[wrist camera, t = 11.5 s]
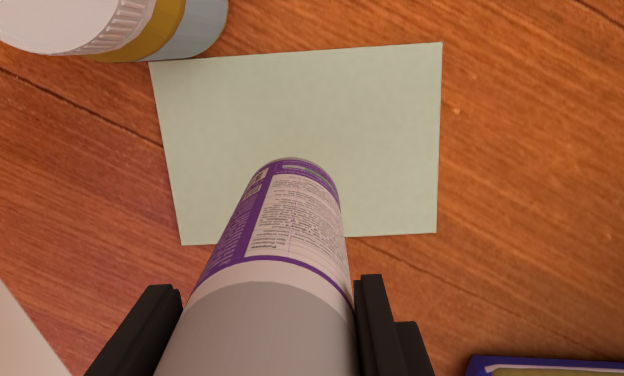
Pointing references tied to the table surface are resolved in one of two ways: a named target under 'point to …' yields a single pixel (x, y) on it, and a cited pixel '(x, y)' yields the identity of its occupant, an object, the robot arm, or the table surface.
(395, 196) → the mat
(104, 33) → the bottle
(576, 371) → the bread
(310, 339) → the container
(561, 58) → the table surface
